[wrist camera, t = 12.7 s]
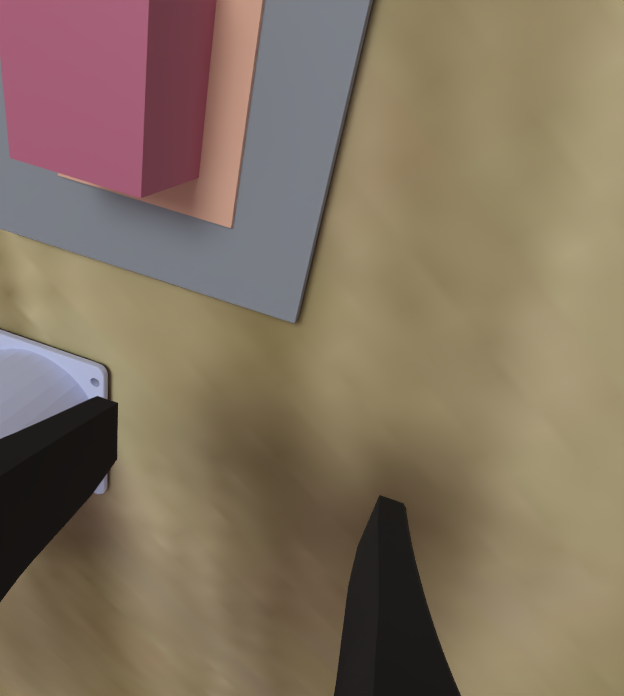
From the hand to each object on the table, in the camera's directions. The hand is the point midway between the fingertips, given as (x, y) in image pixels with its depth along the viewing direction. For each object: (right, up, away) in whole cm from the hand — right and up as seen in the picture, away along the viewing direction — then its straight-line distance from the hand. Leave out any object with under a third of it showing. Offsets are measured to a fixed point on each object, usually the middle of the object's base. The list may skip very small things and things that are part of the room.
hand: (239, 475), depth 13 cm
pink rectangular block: (-4, +13, +4) cm, 14 cm away
